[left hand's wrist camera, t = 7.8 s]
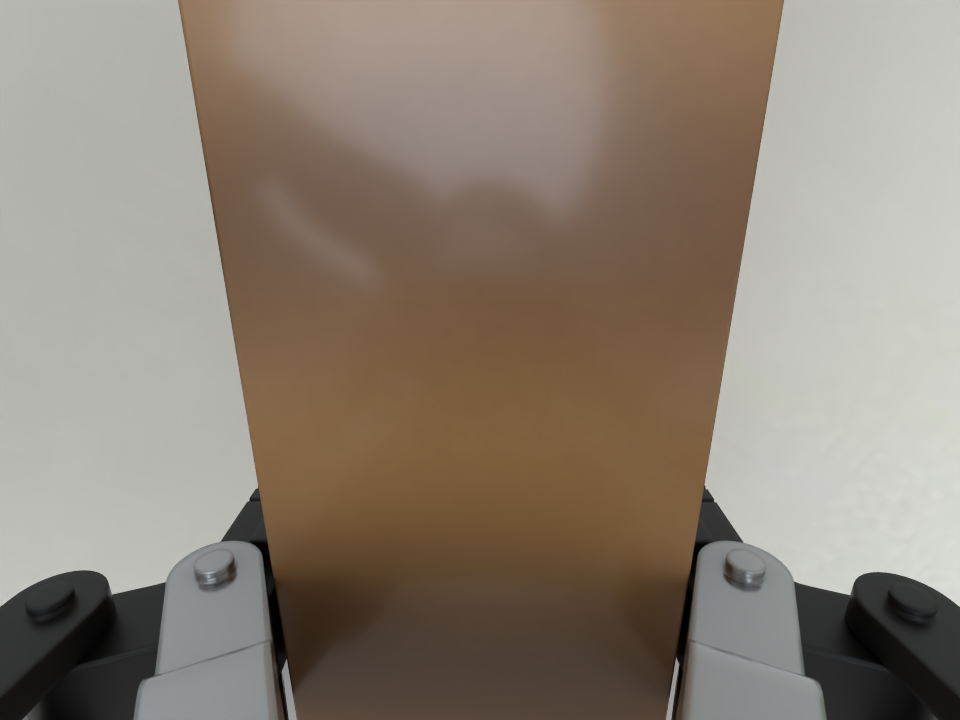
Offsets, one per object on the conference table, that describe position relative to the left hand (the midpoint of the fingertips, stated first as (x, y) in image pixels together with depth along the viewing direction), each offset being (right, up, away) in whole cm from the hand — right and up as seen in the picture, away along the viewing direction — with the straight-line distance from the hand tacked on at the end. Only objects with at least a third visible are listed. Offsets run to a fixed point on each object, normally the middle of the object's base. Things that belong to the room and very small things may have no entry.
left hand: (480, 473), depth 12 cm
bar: (0, +11, 0) cm, 11 cm away
